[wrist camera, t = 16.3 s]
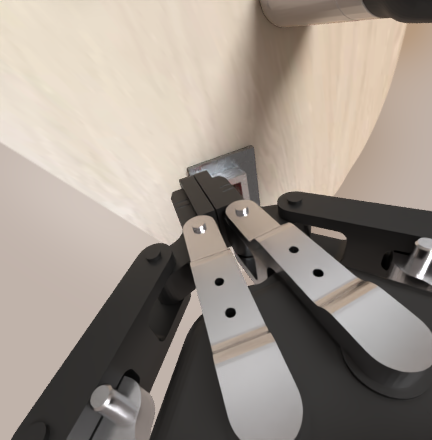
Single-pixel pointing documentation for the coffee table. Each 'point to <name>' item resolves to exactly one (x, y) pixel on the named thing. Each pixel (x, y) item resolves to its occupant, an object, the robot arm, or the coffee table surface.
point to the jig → (234, 171)
